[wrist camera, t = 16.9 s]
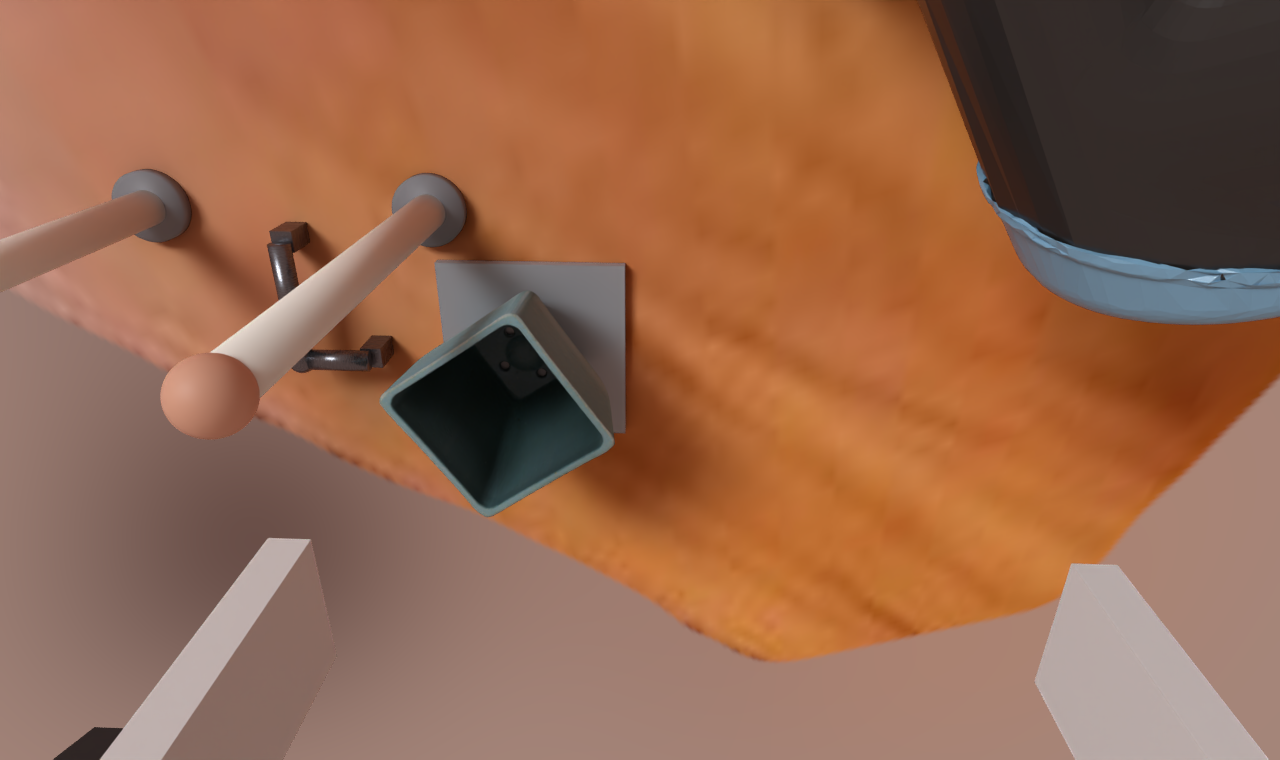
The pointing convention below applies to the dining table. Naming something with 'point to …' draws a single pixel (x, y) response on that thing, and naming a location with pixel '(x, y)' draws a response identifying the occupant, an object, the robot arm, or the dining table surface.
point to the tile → (570, 292)
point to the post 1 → (98, 227)
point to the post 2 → (306, 314)
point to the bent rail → (281, 257)
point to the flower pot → (504, 406)
